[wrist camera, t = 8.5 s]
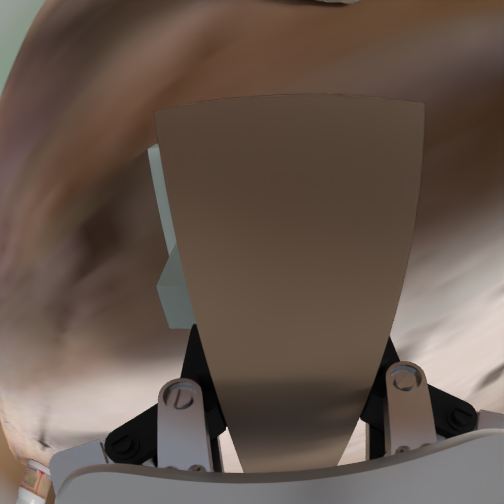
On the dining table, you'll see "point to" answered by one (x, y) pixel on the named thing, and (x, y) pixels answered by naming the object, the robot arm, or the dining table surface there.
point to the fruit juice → (34, 484)
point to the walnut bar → (293, 257)
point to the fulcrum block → (170, 257)
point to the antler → (343, 0)
